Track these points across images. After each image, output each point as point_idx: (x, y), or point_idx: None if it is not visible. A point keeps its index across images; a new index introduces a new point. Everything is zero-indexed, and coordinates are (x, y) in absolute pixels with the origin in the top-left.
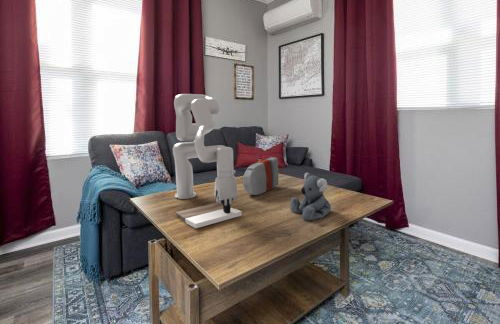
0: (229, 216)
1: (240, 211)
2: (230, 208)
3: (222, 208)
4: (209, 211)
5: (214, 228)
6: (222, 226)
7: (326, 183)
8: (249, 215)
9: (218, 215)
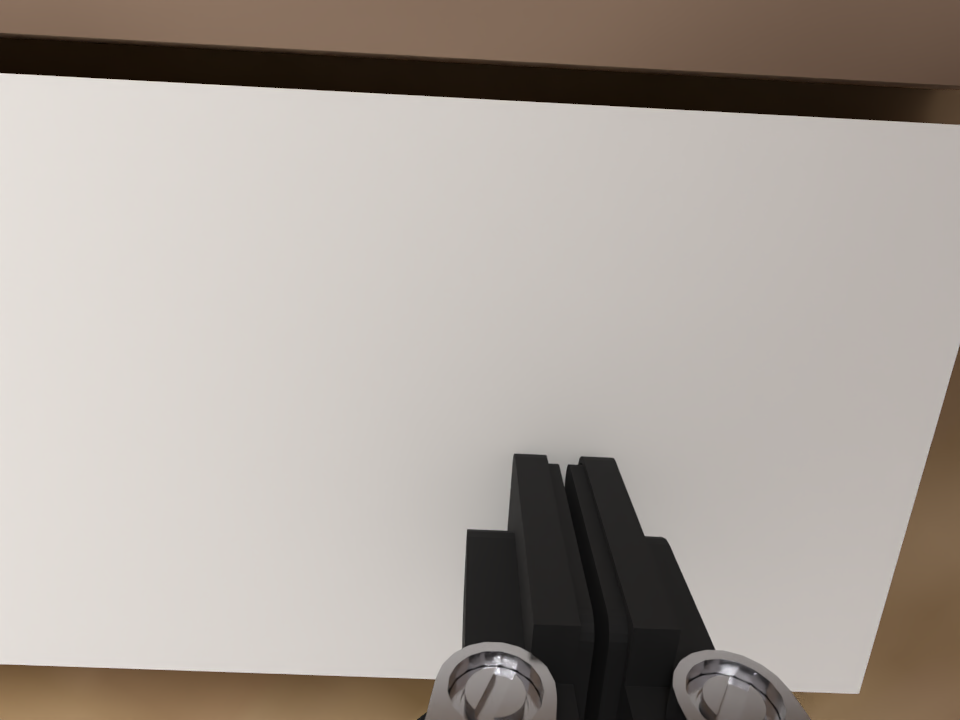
0: None
1: (830, 690)
2: (906, 286)
3: (754, 73)
4: (228, 6)
5: (52, 693)
6: (214, 710)
7: None
8: (946, 641)
9: (253, 554)
